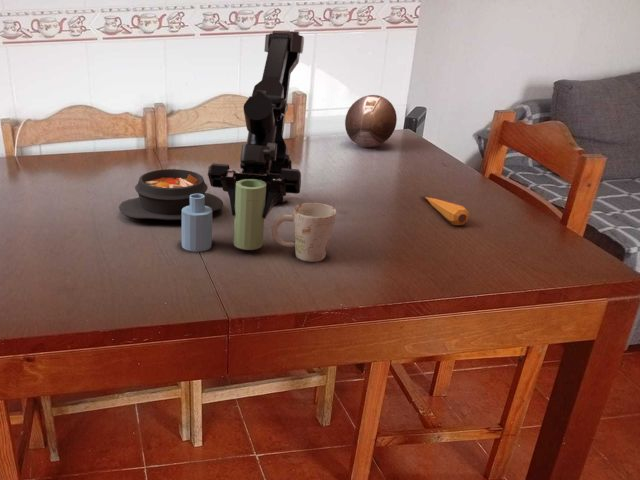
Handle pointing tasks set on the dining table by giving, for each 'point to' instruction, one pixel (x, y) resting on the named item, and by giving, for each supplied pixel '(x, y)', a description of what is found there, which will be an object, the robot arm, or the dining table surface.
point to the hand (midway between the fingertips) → (248, 216)
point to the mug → (309, 230)
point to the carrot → (450, 211)
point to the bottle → (197, 225)
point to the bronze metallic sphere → (370, 121)
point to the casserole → (167, 195)
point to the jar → (249, 214)
